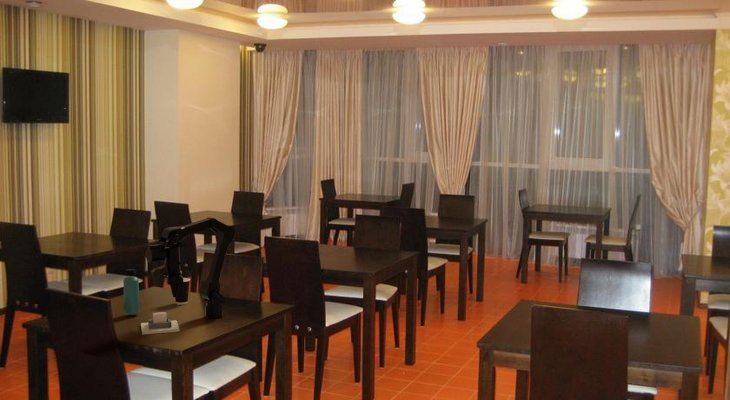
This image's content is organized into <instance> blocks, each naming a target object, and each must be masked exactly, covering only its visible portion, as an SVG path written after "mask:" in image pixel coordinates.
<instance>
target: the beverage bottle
mask: <svg viewBox="0 0 730 400" xmlns="http://www.w3.org/2000/svg"><path fill="white" fill-rule="evenodd" d="M124 274H125V276H126V277H124V278H123V280H122V282H123V303H124V305H123V311H124V313H125V314H128V315H135V314H138V313H140V311H141V307H140V306H141V303H140V302H141V301H140V286H139V279H140V278H138V277H136V276H134V275H136V274H137V273H136V269H134V268H128V269H125V273H124Z"/></svg>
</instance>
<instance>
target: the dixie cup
mask: <svg viewBox="0 0 730 400" xmlns="http://www.w3.org/2000/svg"><path fill="white" fill-rule="evenodd" d="M190 281H191V278H188V277H183V283H181V285H180V287H179V290H178V292H177V295H176V297H174V298H175V303H176V305H178V306H179V305H180V306H181V305H187V304H188V301H189V294H190V293H189V292H190Z"/></svg>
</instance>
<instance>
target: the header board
mask: <svg viewBox="0 0 730 400" xmlns="http://www.w3.org/2000/svg"><path fill="white" fill-rule="evenodd" d="M166 319H167V322H164V323H151V319H147V321H148V322H141V323H140V329H141V335H142V336H143V335H153V334H163V333H176V332H180V327H179V324H178V321H177V320H175V319H174V320H171V317H166Z"/></svg>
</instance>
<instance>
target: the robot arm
mask: <svg viewBox="0 0 730 400" xmlns="http://www.w3.org/2000/svg"><path fill="white" fill-rule="evenodd" d="M208 229H210V230H211V231H213V232H214V233H215V238H214V239H215V243H216V246H215V249H214V253H213V257H212V261H211V265H210V268H209V272H208V276H207V278H206V279H205V280H201V281H200V282H201V283H200V287H199V289H198V290H199V295H200V297H202V299H203V302H206V304H205V306H204V315H205V317H206V318H207V319H221V318H224V315H223V304H225V301H226V297H225V296H224V295H222V294H221V283H220V279H221V274H222V271H223V267H224V263H225V260H226V255H227V252H228V248H229V246H230V245H231V244H233V241H234V240H235V239H234V238H235V236H236V235H237V234H236V233H237V230H236V228H235V227H234V226H232V225H227V224H225V223H224V222H221V221H220V220H218V219H217V218H214V217H211V216H208V217H206V218H203V219H200V220H197V221H195V222H192V223H188V224H185V225H181V226H169V227H165V228H164V229H163V231H162V233H161V236H160V237H159V239H158V241H157V243H156V244H148V245H147V249H146V251H145V259H146V261H147V263H157V262H162V261H164V262H163V263H164V264H162V265H160V266H158V267H156V268H153V269H152V270H150V273H151V275H152V277H153V279H154V280H157V279H159V278H160V277H161V278H162V277H163V276H164V277H165V281H166V284H167V285H169V287H170V290H171V294H172V297H173V298H175V297H176V295H177V292H178V290H179V287H180V285H181V283H183V278H184V277H183V276H182V271H181V265H182V264H181V263H182V262H181V255H180V254H181V253H180V248H184V247H185V244H183V243H182V241H183V240H184V239H185V238H187V237H188V236H190V235H194V234H196V233H199V232H202V231H206V230H208Z"/></svg>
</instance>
